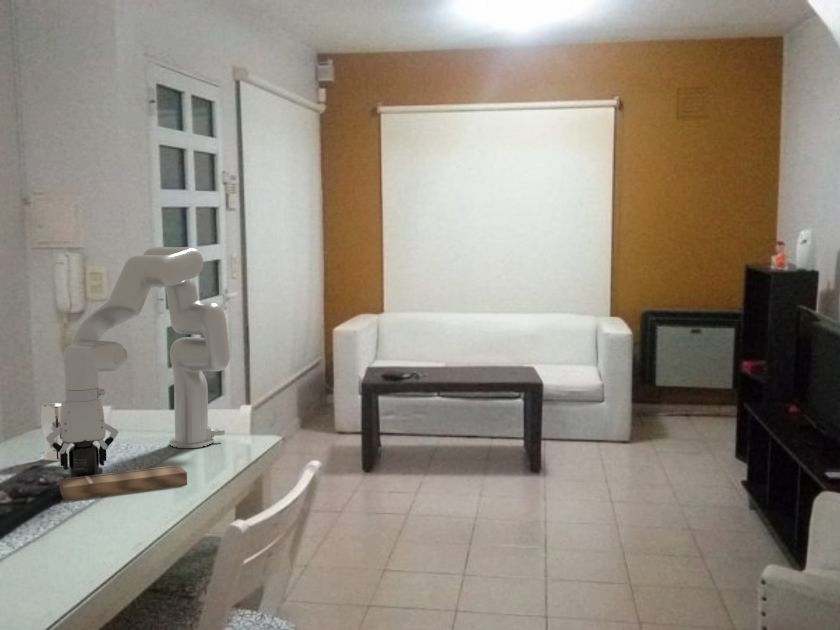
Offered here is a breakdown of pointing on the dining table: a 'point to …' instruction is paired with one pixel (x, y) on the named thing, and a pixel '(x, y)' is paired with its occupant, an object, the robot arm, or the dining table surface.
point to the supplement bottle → (83, 459)
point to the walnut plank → (122, 482)
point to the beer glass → (51, 429)
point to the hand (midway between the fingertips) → (83, 466)
